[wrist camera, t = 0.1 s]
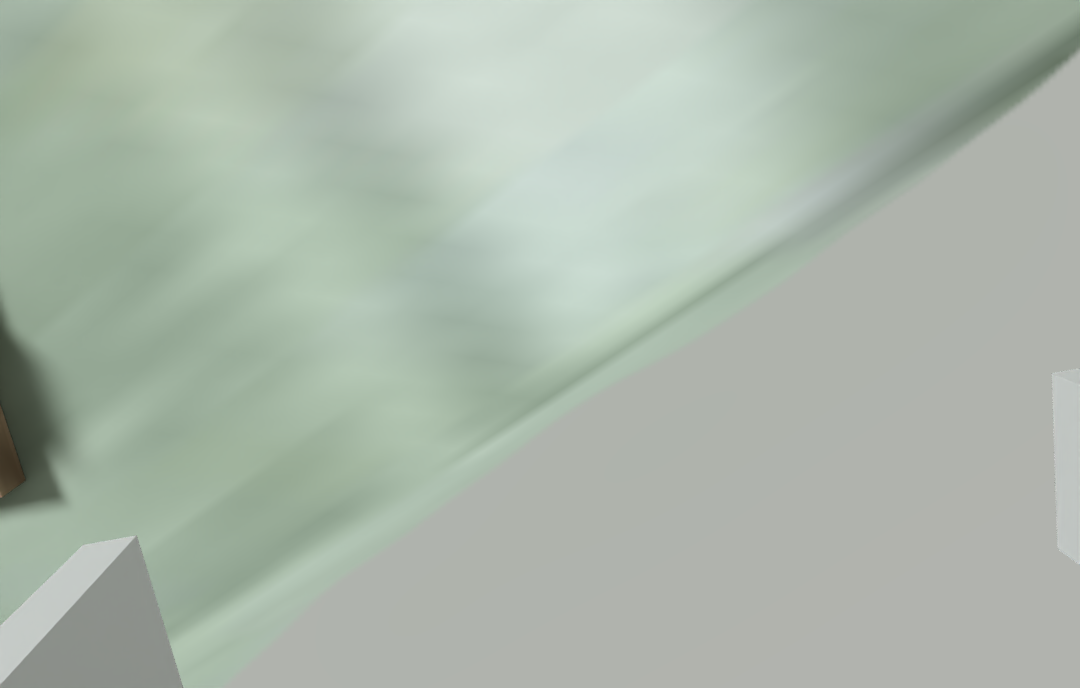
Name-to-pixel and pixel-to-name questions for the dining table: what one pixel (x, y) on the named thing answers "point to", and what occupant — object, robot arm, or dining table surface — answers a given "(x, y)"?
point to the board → (8, 460)
